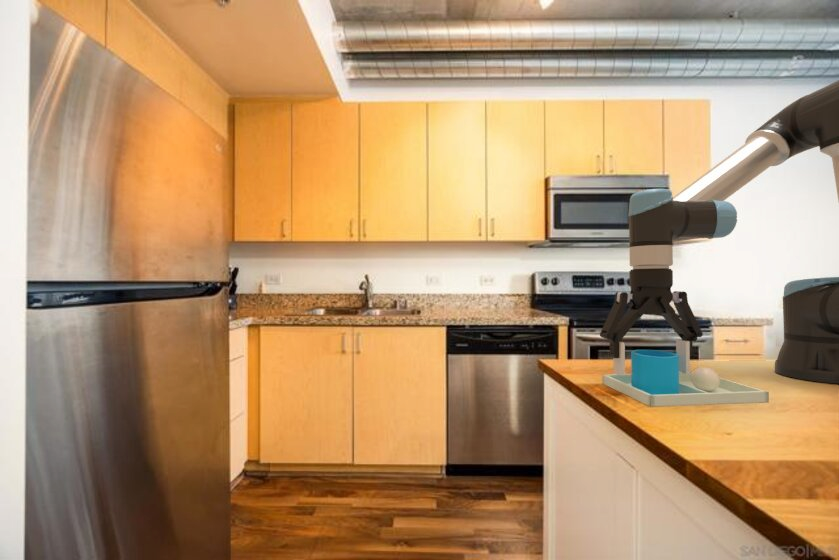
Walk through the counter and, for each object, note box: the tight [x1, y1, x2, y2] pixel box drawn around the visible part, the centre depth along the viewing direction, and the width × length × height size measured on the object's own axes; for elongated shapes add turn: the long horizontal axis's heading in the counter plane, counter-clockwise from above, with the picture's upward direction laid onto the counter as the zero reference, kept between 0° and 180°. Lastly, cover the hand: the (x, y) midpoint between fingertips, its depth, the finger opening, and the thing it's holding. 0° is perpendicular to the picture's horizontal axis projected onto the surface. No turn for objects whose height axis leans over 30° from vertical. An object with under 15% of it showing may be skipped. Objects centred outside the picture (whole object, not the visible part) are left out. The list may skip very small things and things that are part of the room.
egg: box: [691, 366, 720, 391], centre depth 80 cm, size 5×5×5 cm
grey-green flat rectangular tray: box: [601, 371, 770, 408], centre depth 80 cm, size 23×16×2 cm
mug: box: [630, 349, 679, 395], centre depth 80 cm, size 12×8×8 cm
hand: (651, 373), depth 79 cm, fingers open, 13 cm apart
